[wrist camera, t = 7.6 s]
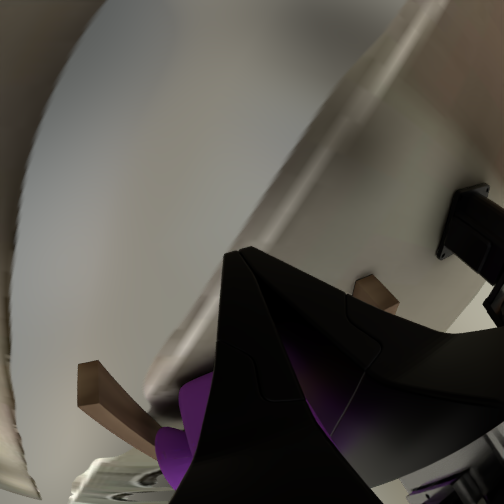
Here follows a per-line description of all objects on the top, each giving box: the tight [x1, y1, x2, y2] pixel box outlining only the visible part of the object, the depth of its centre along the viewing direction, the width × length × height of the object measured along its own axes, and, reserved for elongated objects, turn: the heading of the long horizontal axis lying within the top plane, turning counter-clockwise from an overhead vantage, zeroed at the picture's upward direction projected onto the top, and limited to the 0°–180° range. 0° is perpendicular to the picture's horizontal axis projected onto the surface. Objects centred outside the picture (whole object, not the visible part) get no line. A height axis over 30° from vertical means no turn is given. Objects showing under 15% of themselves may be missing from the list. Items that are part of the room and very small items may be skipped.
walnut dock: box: [77, 275, 400, 460], centre depth 19 cm, size 20×16×4 cm
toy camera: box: [155, 372, 338, 491], centre depth 17 cm, size 11×14×10 cm
